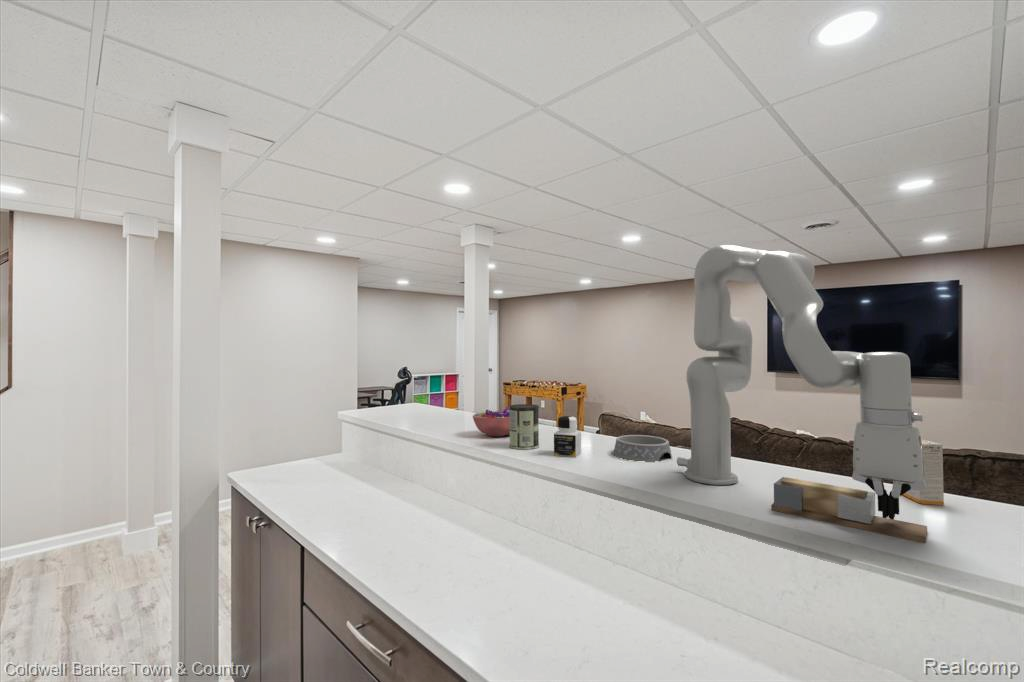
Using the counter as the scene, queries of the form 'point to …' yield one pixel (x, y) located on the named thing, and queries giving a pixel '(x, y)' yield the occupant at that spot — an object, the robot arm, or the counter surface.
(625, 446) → the dog bowl
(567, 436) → the medicine bottle
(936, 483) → the supplement box
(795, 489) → the grey end holder
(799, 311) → the robot arm
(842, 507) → the bracket
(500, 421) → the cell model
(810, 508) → the slat
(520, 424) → the coffee can
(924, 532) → the base board
